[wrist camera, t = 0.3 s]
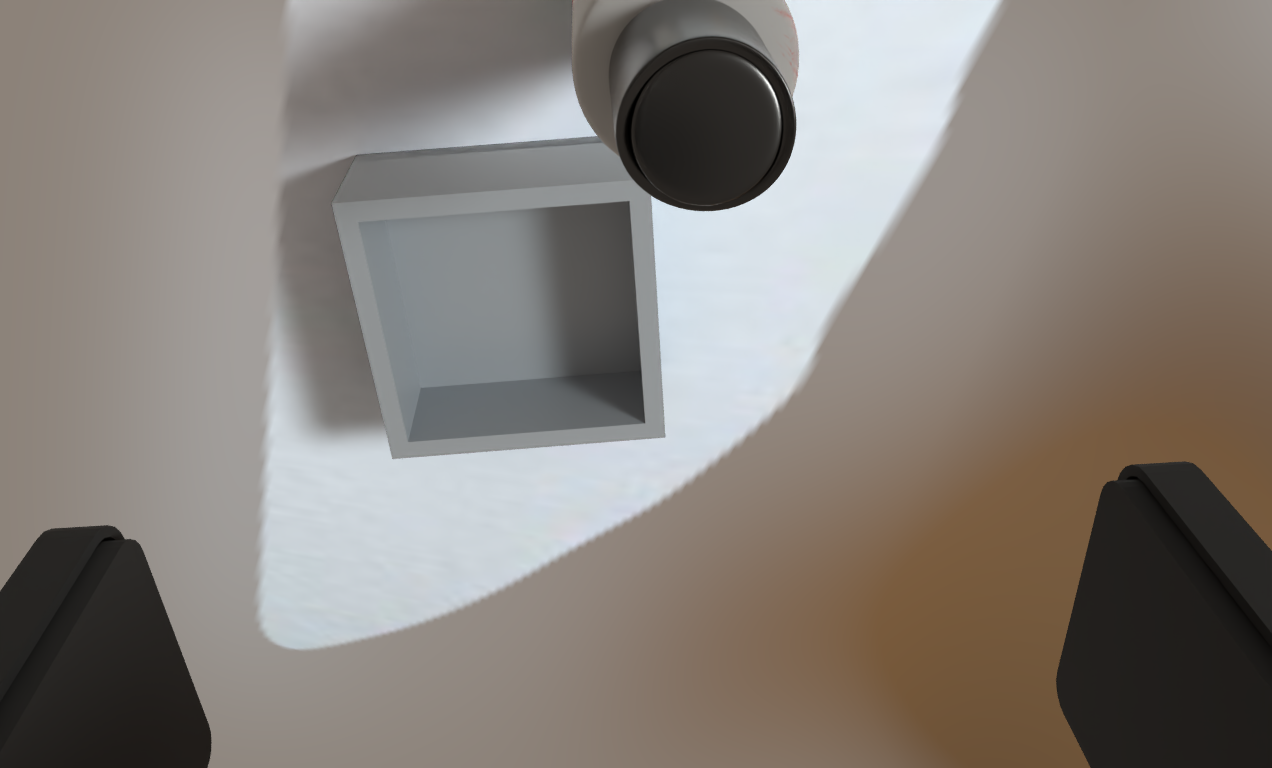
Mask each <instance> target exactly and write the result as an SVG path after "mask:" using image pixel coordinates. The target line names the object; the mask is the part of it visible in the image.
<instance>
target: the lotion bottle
mask: <svg viewBox="0 0 1272 768" xmlns="http://www.w3.org/2000/svg"><path fill="white" fill-rule="evenodd" d="M798 67H799V47H798V38H797V32H796V28H795V24H794V21H793V17H792V15H791V13H790V10H789V8H788V6H787V4H786V2H785V0H573V3H572V72H573V81H574V86H575V91H576V95H577V98H578V101H579V104H580V107H581V109H582V111H583V114H584V116H585V117H586V119H587V121H588V123H589V124H590V126H591V127H592V129H593V130H594V132H595V133H596V135H597V136H598V137H599V138H600V139H601V140H602V142H603V143H604V144H605V145H606V146H607V147H608V148H609V149H610V150H612V151H613V152H614V153H615V154H617V155H618V156H619V157H620V159H621V161H622V163H623V166H624V167H625V169H626V171H627V172H628V174H629V175H630V177H631V178H632V179H633V180H634V181H635V183H636V184H637V185H638V186H640V187H641V188H642V189H643V190H644V191H646V192H647V193H648V194H650V195H651V196H653V197H654V198H656V199H658V200H660V201H662V202H664V203H667V204H669V205H672V206H675V207H678V208H683V209H687V210H694V211H716V210H723V209H729V208H732V207H736V206H739V205H741V204H744V203H746V202H748V201H750V200H752V199H754V198H756V197H757V196H759V195H760V194H762V193H763V192H764V191H766V190H767V189H768V188H769V187H770V186H771V185H772V184H773V183H774V182H775V181H776V180H777V179H778V177H779V176H780V174H781V173H782V172H783V170H784V168H785V167H786V165H787V163H788V161H789V158H790V156H791V153H792V150H793V147H794V142H795V136H796V113H795V107H794V102H793V98H792V96H793V93H794V89H795V86H796V81H797V76H798Z"/></svg>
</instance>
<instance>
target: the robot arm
mask: <svg viewBox="0 0 1272 768" xmlns="http://www.w3.org/2000/svg"><path fill="white" fill-rule="evenodd" d="M1056 682H1057V683H1056V684H1057V694H1058V699H1059V702H1060V706H1061V708H1062V711H1063V714H1064V716H1065V718H1066V720H1067V722H1068V724H1069V725H1070V727H1071V729H1072V731H1073V733H1074V735H1075V737H1076V739H1077V741H1078V743H1079V745H1080V747H1081V749H1082V751H1083V753H1084V755H1085V757H1086V759H1087V761H1088V763H1089V765H1090V767H1091V768H1272V551H1271V549H1270V548H1269V547H1268V546H1267V545H1266V544H1265V543H1264V541H1263V540H1262V539H1261V538H1260V537H1259V536H1258V535H1257V533H1256V532H1255V531H1254V530H1253V529H1252V528H1251V527H1250V526H1249V524H1248V523H1247V522H1246V521H1245V520H1244V519H1243V517H1242V516H1241V515H1240V514H1239V513H1238V512H1237V510H1236V509H1235V508H1234V507H1233V506H1232V505H1231V504H1230V502H1229V501H1228V500H1227V499H1226V498H1225V497H1224V496H1223V495H1222V493H1221V492H1220V491H1219V490H1218V489H1217V488H1216V487H1215V485H1214V484H1213V483H1212V482H1211V481H1210V480H1209V478H1208V477H1207V476H1206V475H1205V474H1204V473H1203V472H1202V470H1201V469H1199V468H1198V467H1197V466H1196V465H1195V464H1193V463H1189V462H1169V463H1154V464H1136V465H1130V466H1127V467H1125V468H1124V469H1123V470H1122V472H1121V473H1120V475H1119V477H1118V480H1117V481H1110V482H1107V483H1106V484H1105V486H1104V487H1103V489H1102V492H1101V495H1100V499H1099V503H1098V507H1097V511H1096V515H1095V519H1094V524H1093V528H1092V532H1091V536H1090V540H1089V544H1088V548H1087V552H1086V556H1085V560H1084V564H1083V569H1082V573H1081V577H1080V581H1079V585H1078V589H1077V593H1076V598H1075V601H1074V606H1073V610H1072V614H1071V618H1070V622H1069V626H1068V630H1067V634H1066V638H1065V643H1064V647H1063V651H1062V655H1061V659H1060V663H1059V667H1058V672H1057V678H1056ZM210 754H211V731H210V728H209V724H208V721H207V719H206V716H205V714H204V711H203V708H202V705H201V703H200V700H199V698H198V695H197V692H196V690H195V687H194V684H193V682H192V679H191V676H190V674H189V671H188V668H187V666H186V663H185V660H184V658H183V655H182V652H181V650H180V647H179V645H178V642H177V640H176V637H175V634H174V631H173V629H172V626H171V624H170V621H169V618H168V615H167V613H166V610H165V607H164V605H163V602H162V600H161V597H160V594H159V592H158V589H157V586H156V584H155V581H154V578H153V576H152V573H151V570H150V568H149V565H148V562H147V560H146V557H145V555H144V552H143V550H142V548H141V546H140V544H139V543H138V542H137V541H136V540H131V539H127V540H126V539H124V537H123V536H122V534H121V532H120V531H119V530H118V529H117V528H115V527H113V526H108V525H106V526H89V527H75V528H74V527H73V528H55V529H50V530H47V531H45V532H43V533H42V535H40V537H39V538H38V539H37V540H36V542H35V543H34V544H33V546H32V547H31V548H30V550H29V551H28V553H27V554H26V556H25V557H24V558H23V560H22V561H21V563H20V564H19V565H18V567H17V568H16V570H15V571H14V573H13V574H12V575H11V577H10V578H9V580H8V581H7V582H6V584H5V585H4V587H3V588H2V590H1V591H0V768H207V767H208V764H209V759H210Z"/></svg>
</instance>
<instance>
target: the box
mask: <svg viewBox="0 0 1272 768" xmlns="http://www.w3.org/2000/svg"><path fill="white" fill-rule="evenodd" d="M331 204H332V208H333V213H334V217H335V221H336V225H337V229H338V233H339V238H340V242H341V246H342V250H343V254H344V258H345V263H346V267H347V271H348V275H349V279H350V283H351V288H352V292H353V296H354V300H355V304H356V309H357V313H358V317H359V321H360V325H361V329H362V334H363V338H364V342H365V346H366V350H367V354H368V359H369V363H370V367H371V371H372V375H373V380H374V384H375V388H376V392H377V396H378V400H379V405H380V409H381V413H382V417H383V421H384V425H385V430H386V434H387V438H388V442H389V446H390V450H391V455H392V459H398V458H411V457H423V456H436V455H449V454H461V453H474V452H487V451H499V450H512V449H525V448H537V447H550V446H563V445H575V444H588V443H601V442H613V441H626V440H639V439H651V438H664V437H665V425H664V408H663V391H662V374H661V357H660V340H659V323H658V306H657V289H656V272H655V255H654V238H653V221H652V204H651V195H650V194H648V193H647V192H646V191H644V190H643V189H642V188H641V187H640V186H638V185H637V184H636V183H635V181H634V180H633V179H632V178H631V177H630V175H629V174H628V172H627V171H626V169H625V167H624V166H623V163H622V161H621V159H620V157H619V156H618V155H617V154H615V153H614V152H613V151H612V150H610V149H609V148H608V147H607V146H606V145H605V144H604V143H603V142H602V140H601V139H600V138H599V137H598V136H596V137H583V138H570V139H557V140H544V141H531V142H518V143H505V144H492V145H479V146H466V147H453V148H441V149H428V150H415V151H402V152H389V153H376V154H363V155H356V157H355V159H354V161H353V163H352V165H351V166H350V168H349V170H348V172H347V174H346V176H345V178H344V180H343V182H342V184H341V186H340V188H339V190H338V192H337V193H336V195H335V197H334V199H333V201H332V203H331Z"/></svg>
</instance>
